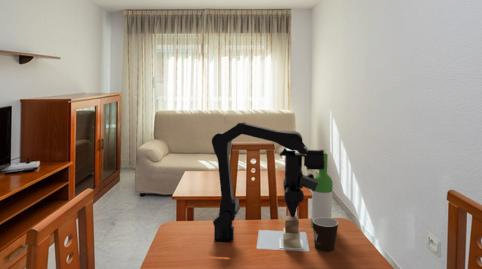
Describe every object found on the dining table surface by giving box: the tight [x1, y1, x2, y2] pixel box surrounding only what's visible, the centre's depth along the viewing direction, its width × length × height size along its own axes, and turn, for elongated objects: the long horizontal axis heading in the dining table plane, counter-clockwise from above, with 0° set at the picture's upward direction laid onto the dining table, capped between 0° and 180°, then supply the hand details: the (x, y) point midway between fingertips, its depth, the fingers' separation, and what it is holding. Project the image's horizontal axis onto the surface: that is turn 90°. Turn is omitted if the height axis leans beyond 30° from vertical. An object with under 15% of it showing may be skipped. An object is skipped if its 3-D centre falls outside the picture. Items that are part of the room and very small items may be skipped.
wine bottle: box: [310, 152, 334, 228], centre depth 140 cm, size 8×8×30 cm
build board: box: [256, 229, 311, 252], centre depth 129 cm, size 18×16×1 cm
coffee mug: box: [312, 217, 339, 253], centre depth 124 cm, size 12×9×10 cm
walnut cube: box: [284, 215, 300, 233], centre depth 124 cm, size 4×4×4 cm
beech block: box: [282, 226, 301, 248], centre depth 125 cm, size 6×6×5 cm
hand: (292, 212), depth 124 cm, fingers open, 9 cm apart
